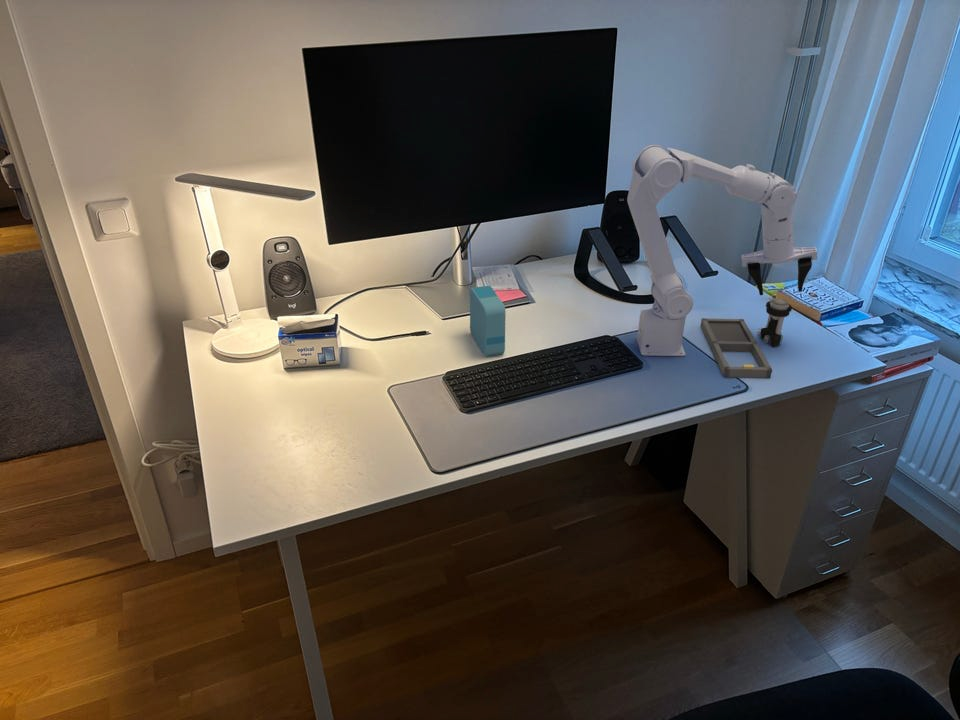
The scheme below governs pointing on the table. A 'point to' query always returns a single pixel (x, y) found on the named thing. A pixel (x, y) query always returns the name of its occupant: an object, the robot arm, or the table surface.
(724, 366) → the shallow brown tray
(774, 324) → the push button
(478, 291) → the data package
